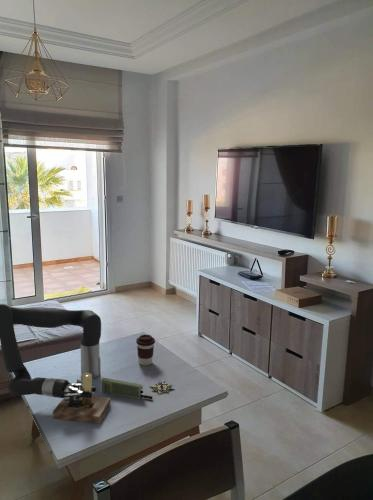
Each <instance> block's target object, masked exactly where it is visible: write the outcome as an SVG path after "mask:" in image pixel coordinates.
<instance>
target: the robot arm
mask: <svg viewBox="0 0 373 500" xmlns="http://www.w3.org/2000/svg"><path fill="white" fill-rule="evenodd" d="M14 325H23V326H26V327H27V326H29V327H33V328H45V329H54V328H59V327H64V326H74V327H75V326H76V327H81V328H82V336H81V338H80V376H81V377H82V375H83V374H85V373H91V374H92V380H93V379H95V378H98V377H101V370H102V369H101V366H102V365H101V362H102V361H101V356H100V352H101V351H100V341H101V337H102V320H101V317H100V316H99V315H98V314H97V313H95V312H94V311H93V310H90V309H80V310H79V309H78V310H77V309H75V310H74V309H73V310H72V309H71V310H70V309H63V308H53V307H40V306H39V307H33V306H32V307H16V306H15V307H14V306H9V305H7V304H5V303H0V349H1V355H2V360H3V363H4V366H5V369H6V371H7V373H9V374H13V375H14V377H12V379H11V380H10V381H8V384H7V390H8V392H9V393H10V394H12V395H15V396H28V395H29V396H30V395H38V396H45V397H49V398H58V399H63V398H65V401H73V400H79V398H82V397H86V398H91V397H92V396H93V393H96V391H97V387H96V386H93V385H92V393H91V392H84V391H83V392H82V379H76V382H70V381H69V380H68V379H63V378H61V379H60V378H53V377H51V378H50V377H41V376H40V377H34V378H32V376H31V374H30V372H29V371H28V369H27V367H26V366H25V364H24V361H23V359H22V354H21V351H20V349H19V344H18V341H17V338H16V332H15V328H14V327H15V326H14ZM73 397H75V398H73Z"/></svg>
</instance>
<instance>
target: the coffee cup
mask: <svg viewBox="0 0 373 500" xmlns="http://www.w3.org/2000/svg"><path fill="white" fill-rule="evenodd" d="M135 341H136V343H135V344H137V346H136V347H137V348H136V349H137V357H138V358H137V359H138V364H139V365H140V364H141V366H150V365H151V364H152V363H153V356H154V350H155V346H154V345H155V342H156V338H155V337H153V336H152V335H150V334H141V335H140V336H139V337H138V338H136V340H135ZM149 364H150V365H149Z"/></svg>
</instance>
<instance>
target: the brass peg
mask: <svg viewBox="0 0 373 500" xmlns="http://www.w3.org/2000/svg"><path fill="white" fill-rule="evenodd" d="M81 380H82V392H83V391H84V392H91V393H92V394H93V392H92V386H93V379H92V374H91V373H85V374H83V375H82V376H81ZM91 404H92V397H91V398H86V397H82V406H83V407H91V408H92V407H93V406H92V405H91Z"/></svg>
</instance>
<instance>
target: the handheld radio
mask: <svg viewBox="0 0 373 500" xmlns="http://www.w3.org/2000/svg"><path fill="white" fill-rule="evenodd" d="M143 386H144V384H141V383H135V382H130V381H124V380H118V379H113V378H107V377H102V378H101V392H103V393H106V394H112V395H116V396H121V397H128V398H132V399H139V400H140V399H141V398H144V399H147V400H153V396H152V395H146V394H144V390H143V389H144V387H143Z"/></svg>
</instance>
